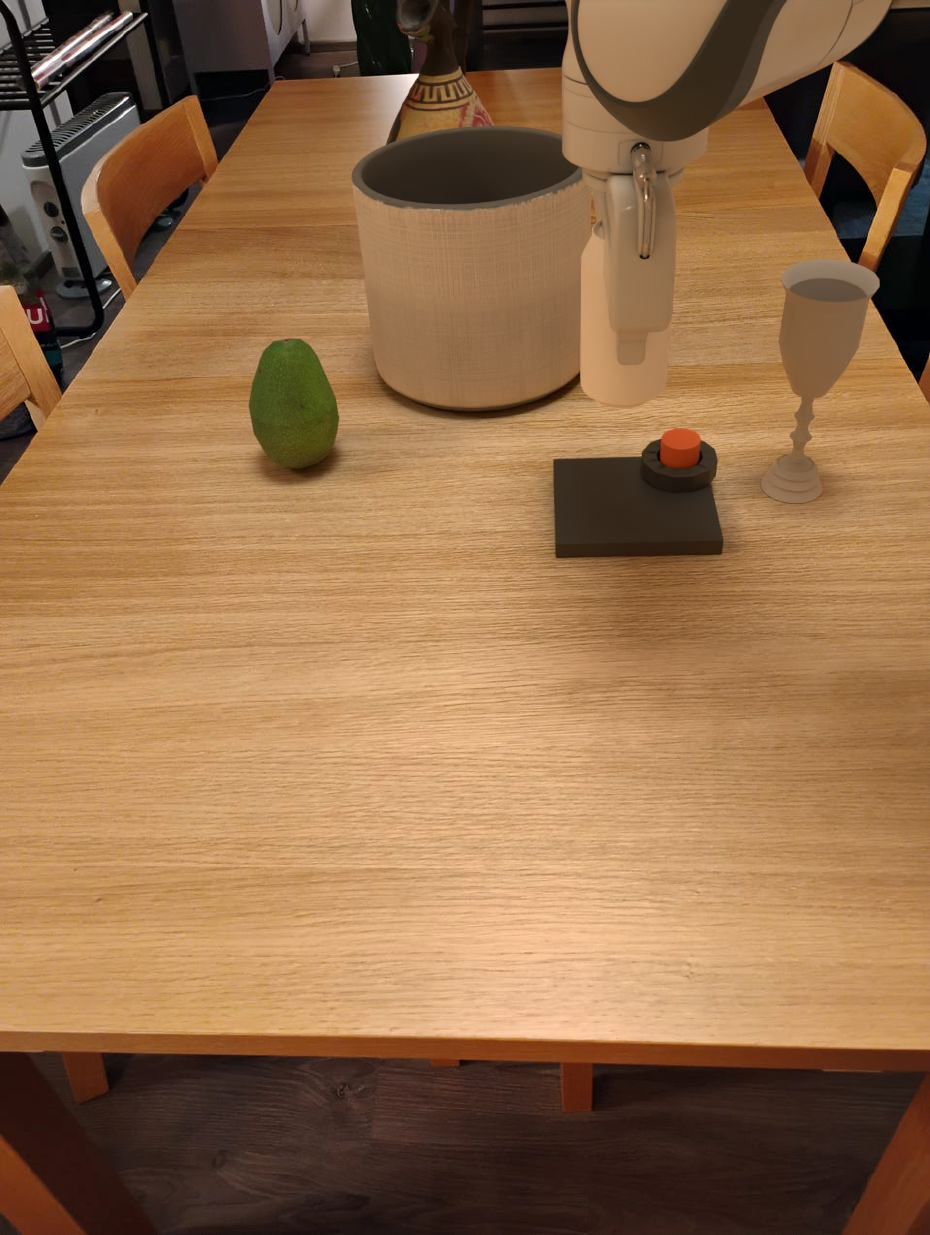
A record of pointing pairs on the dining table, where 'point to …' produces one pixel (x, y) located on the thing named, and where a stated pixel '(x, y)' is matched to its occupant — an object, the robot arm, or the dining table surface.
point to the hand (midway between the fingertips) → (625, 333)
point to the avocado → (293, 405)
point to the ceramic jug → (438, 70)
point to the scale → (635, 506)
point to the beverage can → (614, 342)
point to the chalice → (816, 356)
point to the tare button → (680, 448)
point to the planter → (473, 264)
